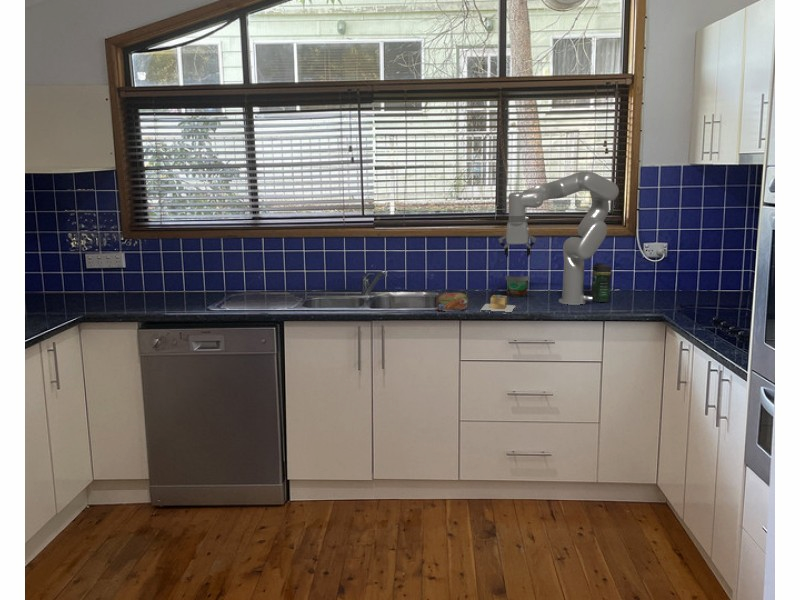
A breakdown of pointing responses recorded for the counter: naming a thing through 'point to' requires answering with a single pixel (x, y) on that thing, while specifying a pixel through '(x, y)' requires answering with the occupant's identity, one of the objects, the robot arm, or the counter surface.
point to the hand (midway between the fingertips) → (517, 256)
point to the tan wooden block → (498, 302)
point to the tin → (452, 301)
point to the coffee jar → (601, 282)
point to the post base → (507, 309)
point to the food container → (517, 285)
